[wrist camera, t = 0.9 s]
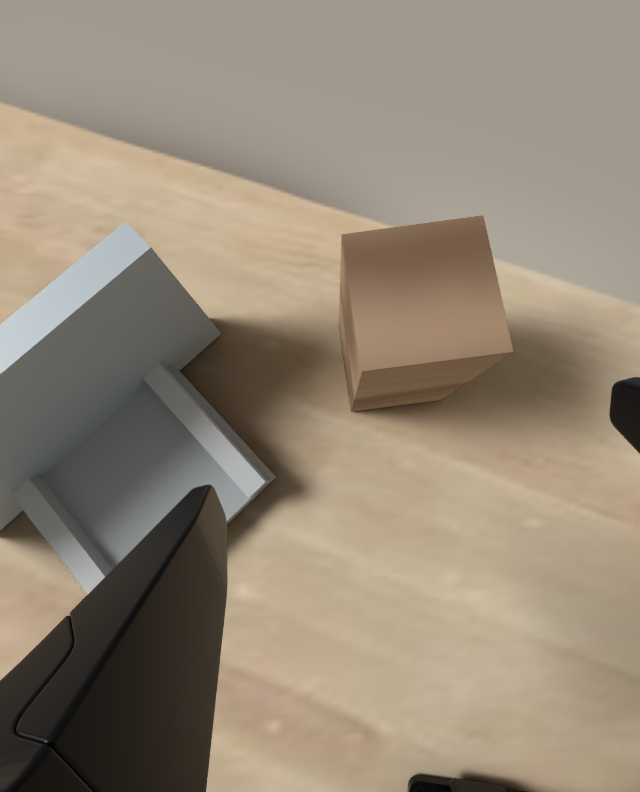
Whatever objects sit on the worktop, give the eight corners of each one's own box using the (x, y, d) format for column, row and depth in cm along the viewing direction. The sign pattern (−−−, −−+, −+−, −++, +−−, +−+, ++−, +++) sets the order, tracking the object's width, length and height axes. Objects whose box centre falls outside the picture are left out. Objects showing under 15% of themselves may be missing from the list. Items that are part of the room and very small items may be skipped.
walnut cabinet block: (441, 400, 24) (513, 351, 15) (350, 411, 24) (361, 371, 15) (425, 314, 25) (482, 215, 16) (338, 326, 25) (341, 234, 16)
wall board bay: (319, 436, 24) (308, 411, 14) (83, 661, 22) (-114, 810, 13) (205, 316, 26) (125, 221, 16) (-23, 517, 24) (-271, 548, 14)
